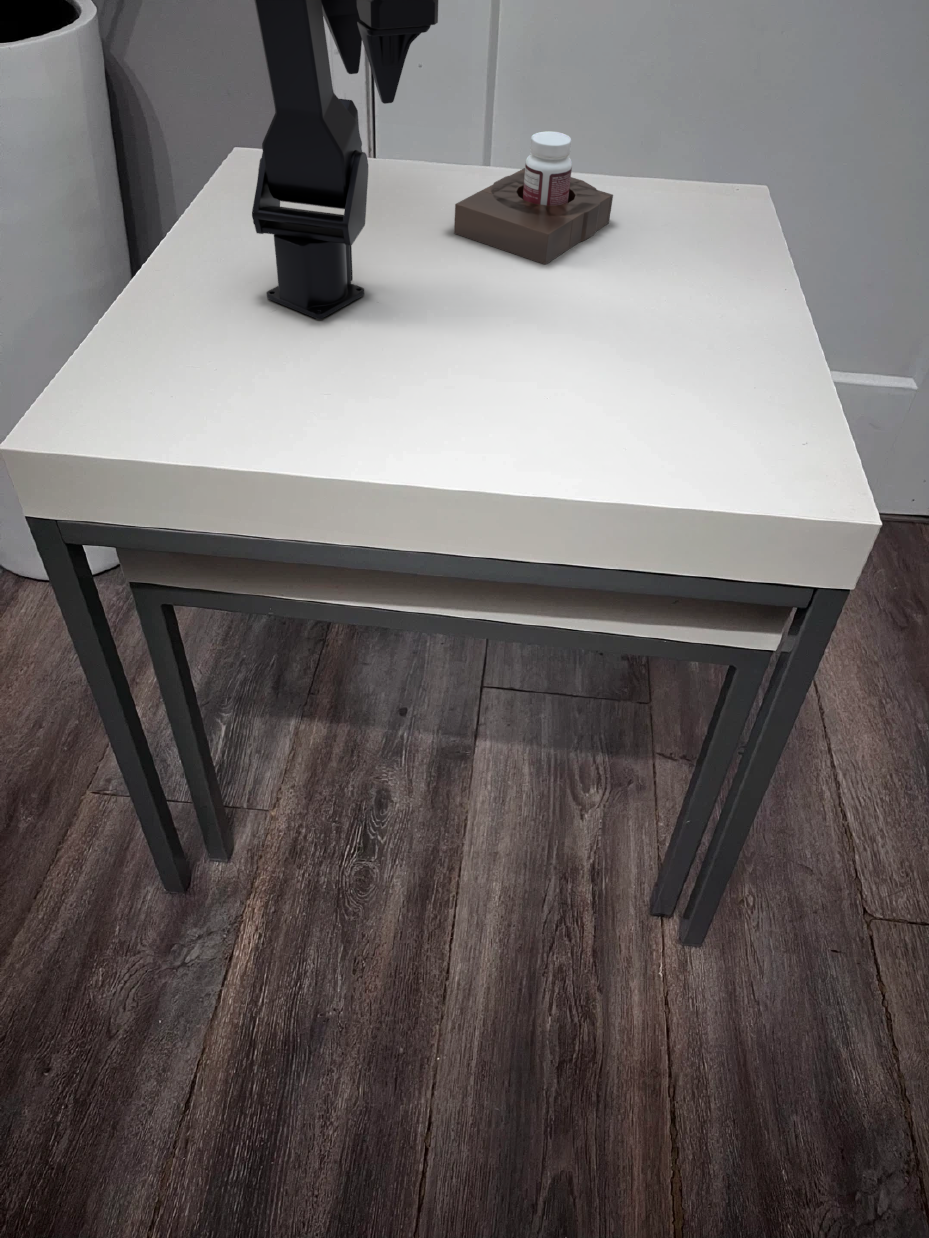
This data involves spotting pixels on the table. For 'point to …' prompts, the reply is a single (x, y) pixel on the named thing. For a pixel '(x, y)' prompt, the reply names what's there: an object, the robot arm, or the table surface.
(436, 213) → the table surface
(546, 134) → the pill bottle
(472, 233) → the brown block with hole
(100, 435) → the table surface
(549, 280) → the table surface
